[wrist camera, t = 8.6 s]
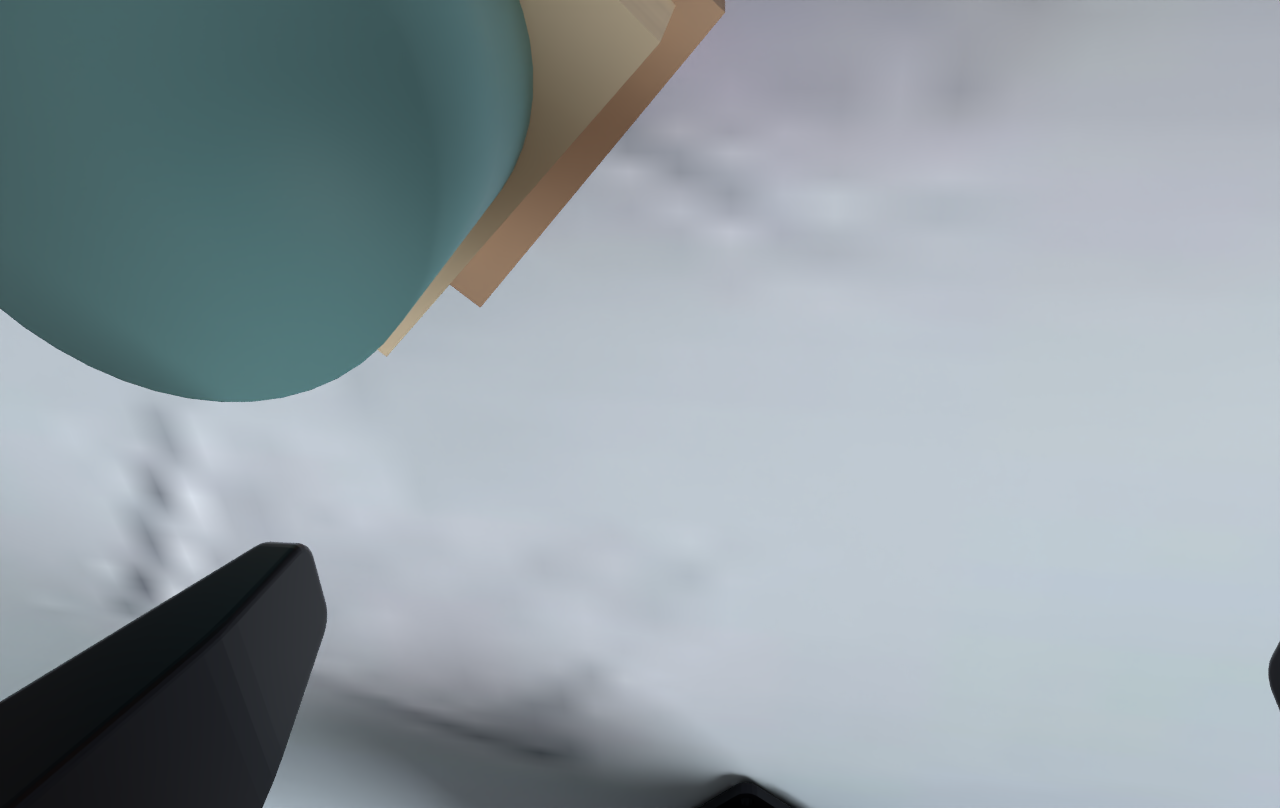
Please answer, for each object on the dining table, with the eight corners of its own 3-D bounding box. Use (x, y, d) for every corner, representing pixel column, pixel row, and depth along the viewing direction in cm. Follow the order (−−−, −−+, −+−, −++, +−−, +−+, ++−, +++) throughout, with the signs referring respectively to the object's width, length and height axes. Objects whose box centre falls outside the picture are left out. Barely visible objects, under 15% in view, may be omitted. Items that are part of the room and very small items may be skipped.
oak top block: (458, 257, 16) (386, 356, 13) (175, 23, 14) (1, 65, 11) (676, 5, 13) (660, 42, 10) (362, -322, 12) (212, -413, 8)
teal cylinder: (409, 320, 12) (287, 486, 9) (80, 95, 11) (-215, 186, 7) (613, 28, 10) (557, 99, 6) (228, -301, 9) (-99, -430, 5)
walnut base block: (521, 236, 20) (480, 307, 16) (260, 27, 18) (150, 57, 14) (724, -12, 17) (725, 12, 13) (434, -299, 15) (348, -357, 11)
